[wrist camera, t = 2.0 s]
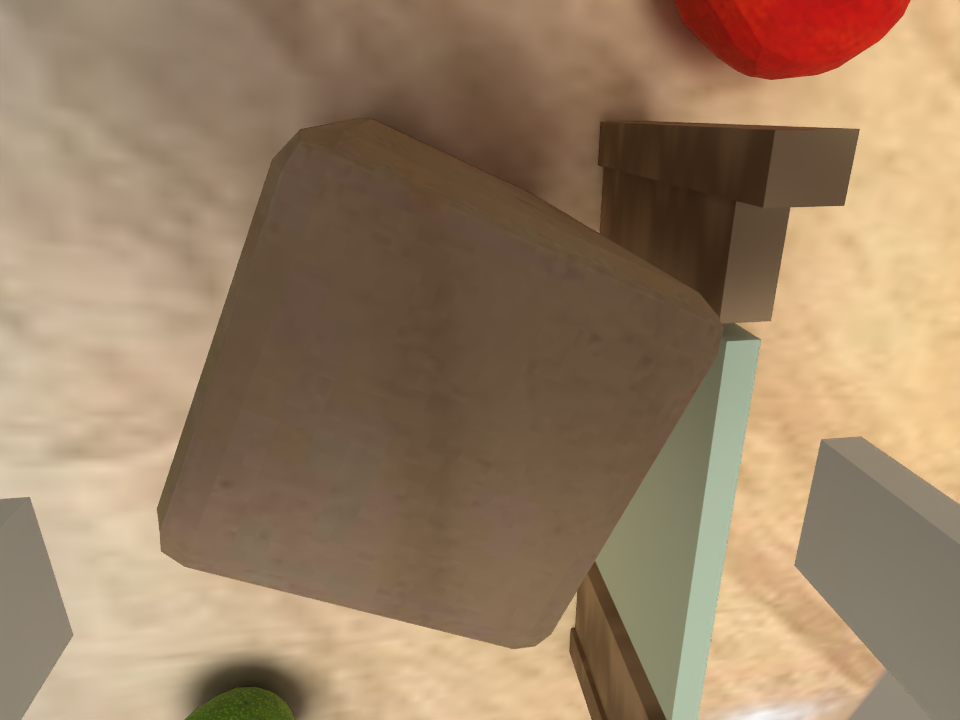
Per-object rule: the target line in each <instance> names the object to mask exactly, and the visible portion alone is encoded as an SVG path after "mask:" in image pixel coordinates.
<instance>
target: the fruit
mask: <svg viewBox="0 0 960 720" xmlns="http://www.w3.org/2000/svg"><path fill="white" fill-rule="evenodd" d="M185 720H295V718H294V715H293V713H292V711H291V710H290V708H289V706H288V705H287V703H286V702H285V701H284V700H282V699H281V698H280V697H279V696H278V695H276V694H275V693H274V692H271V691H268V690H265V689H262V688H258V687H238V688H234V689H232V690H229V691H227V692H224V693H222V694H219V695H217V696H216V697H214V698H213V699H211V700H210V701H208V702H206V703H205V704H203V705H202V706H200V707H199V708H197V709H196V710H195V711H193V712H192V713H191V714H190V715H189V716H188V717H187V718H186V719H185Z"/></svg>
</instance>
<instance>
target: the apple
mask: <svg viewBox="0 0 960 720" xmlns="http://www.w3.org/2000/svg"><path fill="white" fill-rule="evenodd" d="M675 2H676V5H677V8H678V10H679V13H680V16H681V19H682V21H683V23H684V24H685V25H686V26H687V27H688V28H689V29H690V30H691V31H692V32H693V33H694V34H695V35H696V36H697V37H698V38H699V39H700V40H701V41H702V42H703V43H704V44H705V45H706V46H707V47H708V48H709V49H710V50H711V51H712V52H713V53H714V54H715V55H716V56H717V57H718V58H720V59H721V60H722V61H724V62H725V63H727V64H728V65H730V66H731V67H732V68H734V69H735V70H737V71H738V72H740V73H743V74H745V75H747V76H751V77H758V78H764V79H770V80H774V79H783V78H793V77H802V76H812V75H818V74H821V73H824V72H827V71H830V70H833V69H836V68H838V67H840V66H841V65H843V64H844V63H846V62H847V61H849V60H850V59H852V58H853V57H855V56H857V55H858V54H860V53H861V52H863V51H864V50H866V49H867V48H869V47H871V46H872V45H874V44H875V43H877V42H878V41H879V40H881V39H882V38H883V37H884V36H885V35H886V34H887V33H888V32H889V30H890V29H891V28H892V27H893V26H894V25H895V24H896V23H897V22H898V21H899V19H900V18H901V17H902V16H903V15H904V13H905V11H906V9H907V6H908V4H909V2H910V0H675Z"/></svg>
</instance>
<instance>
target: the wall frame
mask: <svg viewBox="0 0 960 720" xmlns="http://www.w3.org/2000/svg"><path fill="white" fill-rule="evenodd" d="M859 130H860V129H843V128H816V127H789V126H762V125H735V124H708V123H681V122H654V121H629V122H601V126H600V143H599V160H598V165H600V166H604V174H603V190H602V206H601V223H600V234H601V235H602V236H604V237H606V238H608V239H609V240H611V241H613V242H614V243H616V244H618V245H619V246H621V247H623V248H624V249H626V250H628V251H629V252H631V253H633V254H635V255H636V256H638V257H640V258H641V259H643V260H645V261H646V262H648V263H650V264H651V265H653V266H655V267H657V268H658V269H660V270H662V271H663V272H665V273H667V274H668V275H670V276H672V277H673V278H675V279H677V280H678V281H680V282H682V283H684V284H685V285H687V286H689V287H690V288H692V289H694V290H695V291H697V292H699V293H700V294H701V296H702V297H703V298H704V299H705V300H706V302H707V303H708V304H709V305H710V307H711V308H712V309H713V310H714V312H715V313H716V314H717V315H718V317H719V319H720V321H721V323H741V322H761V321H771V317H772V311H773V305H774V299H775V294H776V288H777V282H778V276H779V270H780V264H781V258H782V253H783V247H784V241H785V235H786V229H787V223H788V218H789V212H790V207H814V206H844V204H845V199H846V194H847V189H848V184H849V179H850V174H851V170H852V165H853V160H854V155H855V150H856V145H857V140H858V135H859ZM570 655H571V658H572V661H573V664H574V667H575V670H576V673H577V676H578V679H579V682H580V685H581V688H582V691H583V694H584V697H585V700H586V704H587V707H588V710H589V713H590V716H591V719H592V720H666V718H665V715H664V713H663V711H662V709H661V706H660V704H659V702H658V700H657V697H656V695H655V693H654V691H653V689H652V686H651V684H650V682H649V680H648V677H647V675H646V673H645V671H644V669H643V666H642V664H641V662H640V660H639V657H638V655H637V653H636V651H635V649H634V646H633V644H632V642H631V640H630V637H629V635H628V633H627V631H626V629H625V626H624V624H623V622H622V620H621V617H620V615H619V613H618V611H617V608H616V606H615V604H614V602H613V600H612V597H611V595H610V593H609V591H608V588H607V586H606V584H605V582H604V580H603V577H602V575H601V573H600V571H599V568H598V566H597V564H596V562H595V561H594V563H593V565H592V566H591V568H590V570H589V571H588V573H587V575H586V577H585V578H584V580H583V582H582V583H581V585H580V587H579V588H578V592H577V608H576V624H575V628H574V629H571V635H570Z"/></svg>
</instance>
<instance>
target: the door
mask: <svg viewBox="0 0 960 720" xmlns="http://www.w3.org/2000/svg"><path fill="white" fill-rule="evenodd" d="M722 326H723V333H722V337H721V342H720V346H719V351H718V355H717V357H716V359H715V361H714V362H713V364H712V366H711V367H710V369H709V371H708V372H707V374H706V376H705V377H704V379H703V381H702V382H701V384H700V386H699V387H698V389H697V391H696V392H695V394H694V396H693V398H692V399H691V401H690V403H689V404H688V406H687V408H686V409H685V411H684V413H683V414H682V416H681V418H680V419H679V421H678V423H677V424H676V426H675V428H674V429H673V431H672V433H671V434H670V436H669V438H668V439H667V441H666V443H665V444H664V446H663V448H662V449H661V451H660V453H659V454H658V456H657V458H656V459H655V461H654V463H653V464H652V466H651V468H650V469H649V471H648V473H647V474H646V476H645V478H644V479H643V481H642V483H641V484H640V486H639V488H638V490H637V491H636V493H635V495H634V496H633V498H632V500H631V501H630V503H629V505H628V506H627V508H626V510H625V511H624V513H623V515H622V516H621V518H620V520H619V521H618V523H617V525H616V526H615V528H614V530H613V531H612V533H611V535H610V536H609V538H608V540H607V541H606V543H605V545H604V546H603V548H602V550H601V551H600V553H599V555H598V556H597V558H596V560H595V562H596V564H597V566H598V568H599V571H600V573H601V575H602V577H603V580H604V582H605V584H606V586H607V588H608V591H609V593H610V595H611V597H612V600H613V602H614V604H615V606H616V608H617V611H618V613H619V615H620V617H621V620H622V622H623V624H624V626H625V629H626V631H627V633H628V635H629V637H630V640H631V642H632V644H633V646H634V649H635V651H636V653H637V655H638V657H639V660H640V662H641V664H642V666H643V669H644V671H645V673H646V675H647V677H648V680H649V682H650V684H651V686H652V689H653V691H654V693H655V695H656V697H657V700H658V702H659V704H660V706H661V709H662V711H663V713H664V715H665V718H666V720H698V714H699V708H700V702H701V696H702V690H703V684H704V678H705V672H706V666H707V660H708V655H709V649H710V643H711V637H712V631H713V625H714V619H715V613H716V607H717V601H718V595H719V589H720V583H721V577H722V571H723V565H724V559H725V553H726V547H727V541H728V535H729V529H730V523H731V517H732V511H733V505H734V499H735V493H736V487H737V481H738V475H739V469H740V463H741V457H742V451H743V445H744V439H745V433H746V427H747V421H748V415H749V409H750V403H751V397H752V391H753V385H754V379H755V373H756V367H757V361H758V355H759V349H760V343H761V339H759V338H758V337H756V336H754V335H753V334H751V333H750V332H748V331H746V330H745V329H743V328H742V327H740V326H738V325H737V324H735V323H722Z"/></svg>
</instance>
